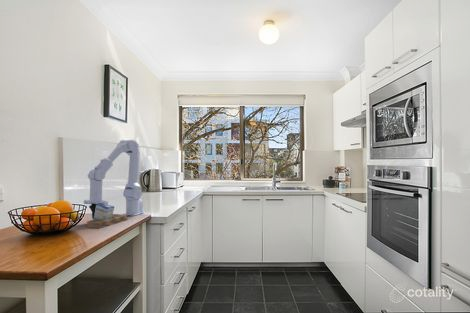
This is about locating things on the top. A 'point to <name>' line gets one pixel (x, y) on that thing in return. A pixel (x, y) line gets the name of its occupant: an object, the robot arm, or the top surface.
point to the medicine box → (103, 212)
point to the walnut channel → (106, 221)
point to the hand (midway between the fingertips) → (95, 218)
